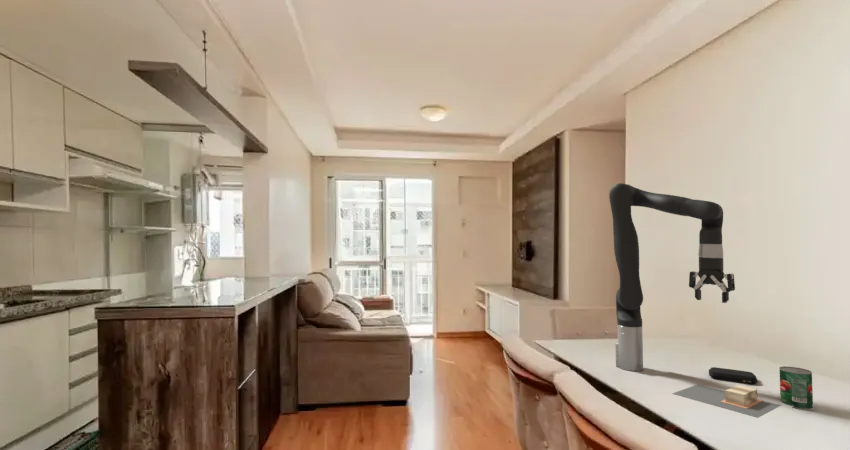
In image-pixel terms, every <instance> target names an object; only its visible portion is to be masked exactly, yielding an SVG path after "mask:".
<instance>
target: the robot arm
mask: <svg viewBox="0 0 850 450" xmlns="http://www.w3.org/2000/svg"><path fill="white" fill-rule="evenodd" d="M608 196H609V198H608V199H609V203H610V210H611V216H612V229H613V230H612V232H613V250H614V257H615V261H616V264H617V269H618V274H619V288H618V289H617V291H616V295H615V307H616V308H615V309H616V312H615V313H616V319H617V321H616V322H617V342H615V366H616V367H618V368H620V369H622V370H626V371H631V372H632V371H634V372H637V371H638V372H639V371H640V372H641V371H643V370H644V344H643V342H644V341H643V337H644V336H643V319H642V313H641V306H642V304H643V301H644V295H643V290H642V284H641V280H640V279H641V278H640V245H639V244H640V243H639V236H638V232H637V229H636V227H635V224H634V221H633V217H632V207H643V208H648V209H653V210H656V211H659V212H664V213H667V214H671V215H677V216H682V217H690V218H695V219H698V220H701V227H700V228H701V229H700V230H699V235H698V237H699V239H698V243H699V245H698V253H697V254H698V272H697V271H689V274H688V275H689V276H688V278H689V279H688V287H689V288H691V289H694V297H695V299H696V300H697V301H701V300H702V290H701V289H702V287H703V286H705V285H712V286H717V287H718V288H719V289H720V290H721V291H722V292H721V303H722V304H723V303H724V304H727V303H728V302H729V301H730V299H729V298H730V295H729V294H730V292H732V291H733V292H734V291H735V290H736V287H735V285H736V283H735V274H734V273H724V247H723V223H724V210H723V207H722V206H721V204H719V203H716V202H714V201H709V200H701V199H692V198H689V197H685V196H679V195H673V194H665V193H657V192H650V191H646V190H643V189H640V188H637V187H635V186H633V185H631V184H626V183H619V182H618V183H615V184H614V185H612V187H611V188H610V190H609V193H608ZM697 278H699V280H698V281H696V280H697ZM724 278H725V280H726V282H727V285H726V282H725V281H724Z"/></svg>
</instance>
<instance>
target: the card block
mask: <svg viewBox="0 0 850 450" xmlns="http://www.w3.org/2000/svg"><path fill="white" fill-rule="evenodd" d="M724 391H725V401H726V402H728V403H732V404H736V405H740V406H743V407H744V406H747V405H749V404H751V403H753V402H755V401H757V399H758V389H757V388H755V387H754V388H753V387H749V386H745V385H742V384H741V385H740V384H738V385H735V386H733V387H730V388H727V389H724Z"/></svg>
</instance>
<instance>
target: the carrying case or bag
mask: <svg viewBox="0 0 850 450" xmlns="http://www.w3.org/2000/svg"><path fill="white" fill-rule="evenodd" d="M708 376H709V377H710V379H713V380H719V381H725V382H732V383H740V384H746V383H747V384H748V385H756V384H757V383H758V381H759V380H758V378H757V376H756V375H755V374H754V373H753V372H751V371H745V370H738V369H733V368H732V369H731V368H721V367H716V366H715V367H714V366H713V367H710V368H709V369H708Z"/></svg>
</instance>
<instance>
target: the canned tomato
mask: <svg viewBox="0 0 850 450" xmlns="http://www.w3.org/2000/svg"><path fill="white" fill-rule="evenodd" d="M778 367H779V366H778ZM778 369H779V391H780V393H779V394H780V395H779V397H780V398H779V399H780V402H781V403H783V404H784V405H788V406H790V407H792V409H798V410H805V411H806V410H807V411H808V410H809V411H810V410H813V409H814V401H813V400H814V397H813V394H814V393H813V392H814V391H813V371H811V370H809V369H806V368H802V367H801V368H800V367H795V366H780V367H779V368H778Z"/></svg>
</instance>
